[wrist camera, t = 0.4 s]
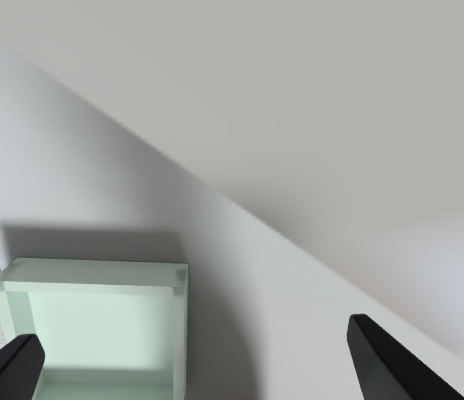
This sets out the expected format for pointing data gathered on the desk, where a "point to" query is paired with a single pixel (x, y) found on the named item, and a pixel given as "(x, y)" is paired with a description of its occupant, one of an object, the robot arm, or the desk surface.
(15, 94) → the desk surface
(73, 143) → the desk surface
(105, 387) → the tray
